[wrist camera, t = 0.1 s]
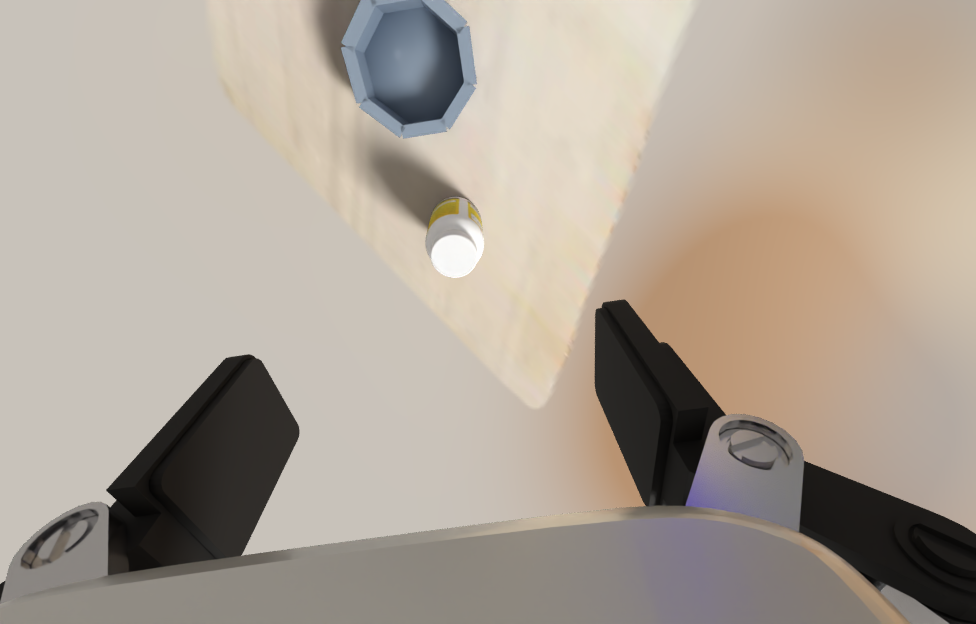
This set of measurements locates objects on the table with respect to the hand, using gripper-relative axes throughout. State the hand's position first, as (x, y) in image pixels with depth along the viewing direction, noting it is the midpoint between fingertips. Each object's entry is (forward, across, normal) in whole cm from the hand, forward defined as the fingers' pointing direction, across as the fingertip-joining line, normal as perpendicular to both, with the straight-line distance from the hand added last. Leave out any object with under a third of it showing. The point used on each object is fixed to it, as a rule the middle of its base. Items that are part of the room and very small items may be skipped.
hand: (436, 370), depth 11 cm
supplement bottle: (+31, +1, +5) cm, 32 cm away
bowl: (+31, +2, -9) cm, 33 cm away
